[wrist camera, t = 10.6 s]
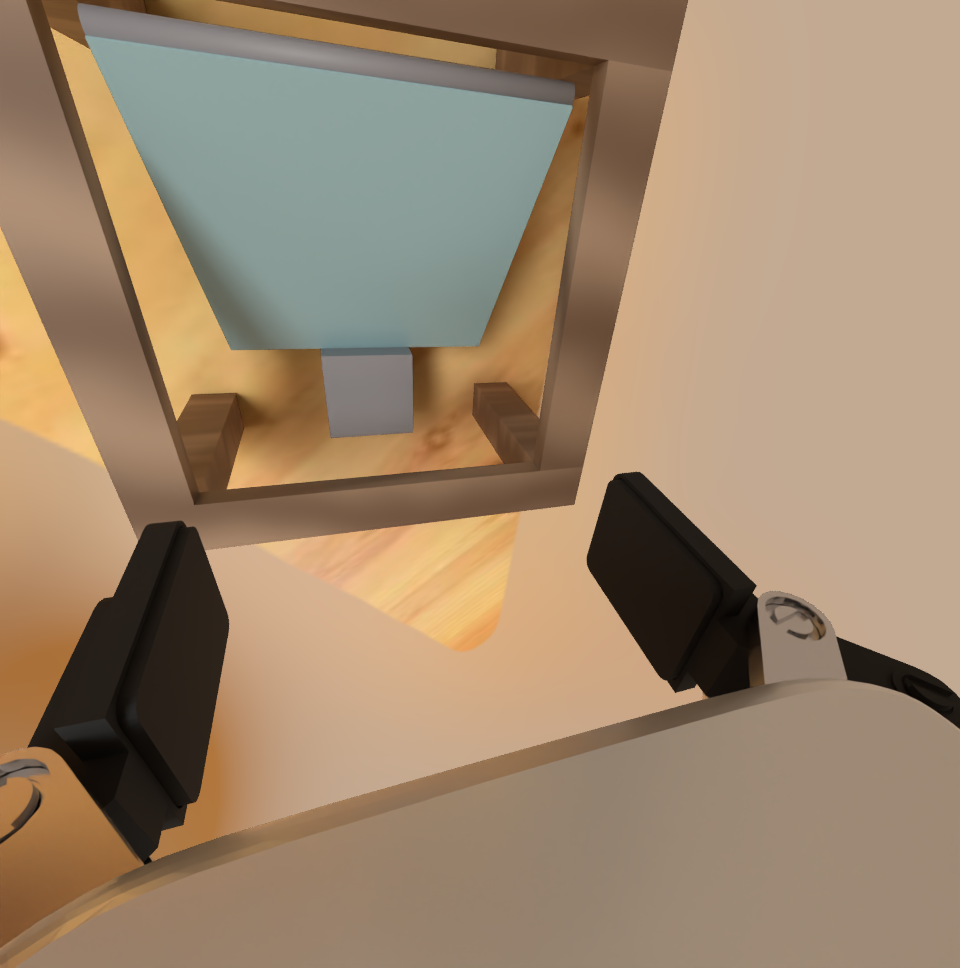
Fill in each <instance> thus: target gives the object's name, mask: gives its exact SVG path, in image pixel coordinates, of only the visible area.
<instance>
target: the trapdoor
mask: <svg viewBox="0 0 960 968" xmlns="http://www.w3.org/2000/svg"><path fill="white" fill-rule="evenodd" d="M77 9H78V15H79V19H80V22H81V25H82V28H83V31H84V33H85V39H86V41H87V43H88V45H89V47H90V49H91V51H92V54H93V56H94V58H95V60H96V62H97V64H98V66H99V69H100V71H101V73H102V75H103V77H104V79H105V81H106V83H107V86H108V88H109V90H110V92H111V94H112V96H113V98H114V101H115V103H116V105H117V107H118V109H119V111H120V113H121V116H122V118H123V120H124V122H125V124H126V126H127V128H128V130H129V133H130V135H131V137H132V139H133V141H134V143H135V145H136V148H137V150H138V152H139V154H140V156H141V158H142V160H143V163H144V165H145V167H146V169H147V171H148V173H149V175H150V177H151V180H152V182H153V184H154V186H155V188H156V190H157V192H158V195H159V197H160V199H161V201H162V203H163V205H164V207H165V210H166V212H167V214H168V216H169V218H170V220H171V222H172V225H173V227H174V229H175V231H176V233H177V235H178V237H179V239H180V242H181V244H182V246H183V248H184V250H185V252H186V254H187V257H188V259H189V261H190V263H191V265H192V267H193V269H194V272H195V274H196V276H197V278H198V280H199V282H200V284H201V286H202V289H203V291H204V293H205V295H206V297H207V299H208V301H209V304H210V306H211V308H212V310H213V312H214V314H215V316H216V319H217V321H218V323H219V325H220V327H221V329H222V331H223V334H224V336H225V338H226V340H227V342H228V344H229V346H230V348H231V350H270V349H326V348H390V347H457V346H479V344H480V341H481V339H482V336H483V334H484V331H485V328H486V326H487V323H488V321H489V318H490V316H491V313H492V311H493V308H494V306H495V303H496V301H497V298H498V296H499V293H500V291H501V288H502V285H503V283H504V280H505V278H506V275H507V273H508V270H509V268H510V265H511V263H512V260H513V258H514V255H515V253H516V250H517V248H518V245H519V243H520V240H521V237H522V235H523V232H524V230H525V227H526V225H527V222H528V220H529V217H530V215H531V212H532V210H533V207H534V205H535V202H536V200H537V197H538V194H539V192H540V189H541V187H542V184H543V182H544V179H545V177H546V174H547V172H548V169H549V167H550V164H551V162H552V159H553V157H554V154H555V151H556V149H557V146H558V144H559V141H560V139H561V136H562V134H563V131H564V129H565V126H566V124H567V121H568V119H569V116H570V114H571V111H572V109H573V107H572V105H573V101H574V97H575V85H574V83H573V82H570V81H564V80H557V79H551V78H545V77H539V76H532V75H526V74H520V73H514V72H507V71H501V70H495V69H489V68H482V67H476V66H470V65H464V64H457V63H451V62H445V61H439V60H432V59H426V58H420V57H414V56H408V55H401V54H395V53H389V52H383V51H376V50H370V49H364V48H358V47H351V46H345V45H339V44H333V43H326V42H320V41H314V40H308V39H301V38H295V37H289V36H283V35H276V34H270V33H264V32H258V31H251V30H245V29H239V28H233V27H226V26H220V25H214V24H208V23H201V22H195V21H189V20H183V19H176V18H170V17H164V16H158V15H151V14H145V13H139V12H133V11H126V10H120V9H114V8H108V7H102V6H95V5H89V4H83V3H78V5H77Z"/></svg>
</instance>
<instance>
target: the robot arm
mask: <svg viewBox="0 0 960 968" xmlns="http://www.w3.org/2000/svg"><path fill="white" fill-rule="evenodd" d="M587 565H588V568H589V570H590V572H591V574H592V575H593V576H594V578H595V579H596V581H597V583H598V584H599V586H600V587H601V589H602V590H603V592H604V593H605V595H606V596H607V598H608V599H609V601H610V602H611V604H612V605H613V607H614V608H615V610H616V611H617V613H618V614H619V616H620V618H621V619H622V621H623V622H624V624H625V625H626V627H627V628H628V630H629V631H630V633H631V634H632V636H633V637H634V639H635V640H636V642H637V643H638V645H639V646H640V648H641V649H642V651H643V652H644V654H645V656H646V657H647V659H648V660H649V662H650V663H651V665H652V666H653V668H654V669H655V671H656V672H657V674H658V675H659V676H660V677H661V678H662V679H663V680H667V681H668V683H669V684H670V686H671V687H672V689H673V690H674V691H675V693H676V692H680V691H684V690H687V689H691V688H695V686H696V684H698V686H699V687H700V689H701V690H702V691H703V700H701V701H697V702H693V703H689V704H686V705H682V706H678V707H675V708H671V709H668V710H664V711H660V712H656V713H653V714H649V715H645V716H642V717H639V718H635V719H631V720H627V721H624V722H620V723H616V724H613V725H609V726H605V727H602V728H598V729H595V730H591V731H587V732H584V733H580V734H576V735H573V736H569V737H566V738H562V739H558V740H555V741H551V742H548V743H544V744H541V745H537V746H533V747H530V748H526V749H523V750H519V751H516V752H512V753H509V754H505V755H501V756H498V757H494V758H491V759H487V760H484V761H480V762H476V763H473V764H469V765H465V766H462V767H458V768H455V769H452V770H448V771H444V772H441V773H437V774H434V775H430V776H427V777H423V778H420V779H416V780H413V781H409V782H406V783H402V784H399V785H396V786H392V787H388V788H385V789H381V790H377V791H374V792H370V793H367V794H363V795H360V796H356V797H353V798H350V799H346V800H342V801H339V802H335V803H332V804H328V805H325V806H321V807H318V808H315V809H311V810H308V811H305V812H302V813H298V814H295V815H292V816H289V817H285V818H282V819H278V820H275V821H272V822H269V823H265V824H262V825H258V826H255V827H252V828H249V829H245V830H242V831H239V832H235V833H232V834H229V835H226V836H222V837H219V838H216V839H214V840H211V841H208V842H205V843H202V844H199V845H196V846H194V847H191V848H188V849H185V850H182V851H179V852H176V853H173V854H171V855H168V856H165V857H162V858H161V859H158V860H156V861H154V860H153V858H152V857H151V856H150V855H151V854H152V853H153V852H154V851H155V850H156V849H157V848H158V844H159V839H160V835H161V831H163V830H166V829H170V828H174V827H177V826H181V825H183V824H184V819H185V813H186V809H187V804H190V803H194V802H196V801H197V799H198V796H199V793H200V789H201V784H202V778H203V773H204V767H205V761H206V755H207V750H208V745H209V739H210V733H211V728H212V722H213V717H214V711H215V705H216V699H217V694H218V688H219V683H220V677H221V672H222V666H223V661H224V655H225V649H226V643H227V638H228V632H229V619H228V614H227V611H226V608H225V606H224V603H223V600H222V597H221V595H220V591H219V589H218V586H217V583H216V580H215V578H214V575H213V572H212V569H211V566H210V564H209V561H208V558H207V555H206V552H205V550H204V547H203V544H202V541H201V538H200V536H199V533H198V531H197V529H196V527H194V526H192V527H187V526H186V524H185V523H184V522H183V521H181V520H180V521H170V522H161V523H152V524H148V525H146V526H145V528H144V530H143V532H142V534H141V536H140V539H139V541H138V544H137V545H136V548H135V550H134V552H133V554H132V556H131V559H130V561H129V563H128V566H127V567H126V570H125V572H124V574H123V576H122V579H121V581H120V583H119V585H118V587H117V590H116V592H115V594H114V596H113V597H110V598H104V599H103V600H101V601H100V602H99V603H98V604H97V606H96V607H95V609H94V610H93V613H92V615H91V617H90V619H89V621H88V623H87V625H86V627H85V629H84V631H83V634H82V635H81V637H80V639H79V642H78V644H77V646H76V648H75V650H74V652H73V654H72V656H71V658H70V661H69V663H68V665H67V666H66V669H65V671H64V673H63V675H62V677H61V679H60V681H59V683H58V685H57V687H56V689H55V692H54V693H53V696H52V698H51V700H50V702H49V704H48V706H47V708H46V710H45V712H44V715H43V717H42V718H41V721H40V723H39V725H38V727H37V729H36V731H35V733H34V735H33V737H32V739H31V741H30V744H29V745H28V747H27V748H23V749H17V750H14V751H11V752H8V753H6V754H3V755H1V756H0V968H960V698H959V697H958V696H957V694H956V693H955V692H953V691H952V690H951V689H950V688H949V687H948V686H947V685H945V684H944V683H943V682H942V681H940V680H939V679H937V678H935V677H933V676H932V675H930V674H928V673H926V672H924V671H922V670H920V669H918V668H916V667H913V666H910V665H908V664H906V663H903V662H900V661H898V660H895V659H892V658H890V657H888V656H885V655H882V654H880V653H877V652H875V651H872V650H870V649H867V648H864V647H862V646H859V645H856V644H854V643H852V642H849V641H846V640H844V639H841V638H839V637H836V635H835V631H834V629H833V627H832V624H831V623H830V621H829V620H828V619H827V617H826V616H825V615H824V614H823V613H822V612H821V611H820V610H818V609H817V608H816V607H815V606H814V605H812V604H810V603H809V602H807V601H805V600H804V599H801V598H799V597H797V596H794V595H792V594H788V593H784V592H780V591H770V592H766V593H763V594H762V595H761V596H760V597H759V598H757V597H756V596H755V595H754V594H753V591H754V589H755V587H756V584H755V583H754V582H753V581H751V580H750V579H749V578H748V577H747V576H746V575H745V574H744V573H743V572H742V571H741V570H740V569H739V568H738V567H737V566H736V565H735V564H734V563H733V562H732V561H731V560H730V559H729V558H728V557H727V556H726V555H725V554H724V553H723V552H722V551H721V550H720V549H719V548H718V547H717V546H716V545H715V544H714V543H712V541H710V539H709V538H707V536H706V535H704V534H703V533H702V532H701V531H700V530H699V529H698V528H697V527H696V526H695V525H694V524H693V523H692V522H691V521H690V520H689V519H688V518H687V517H686V516H685V515H684V514H683V513H682V512H681V511H680V510H679V509H678V508H677V507H676V506H675V505H674V504H673V503H672V502H671V501H670V500H669V499H668V498H667V497H666V496H665V495H664V494H663V493H662V492H661V491H660V490H659V489H657V487H655V486H654V485H653V484H652V483H651V482H650V481H649V480H648V479H647V478H646V477H645V476H644V475H643V474H642V473H640V472H631V473H622V474H617V475H616V476H615V477H614V479H613V480H612V481H610V482H609V483H608V486H607V489H606V493H605V496H604V500H603V503H602V507H601V510H600V513H599V517H598V520H597V524H596V527H595V531H594V534H593V537H592V541H591V544H590V548H589V551H588V555H587Z"/></svg>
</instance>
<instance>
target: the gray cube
mask: <svg viewBox="0 0 960 968" xmlns="http://www.w3.org/2000/svg"><path fill="white" fill-rule="evenodd" d="M321 361H322V369H323V378H324V386H325V394H326V403H327V411H328V419H329V428H330V436H331V438H339V437H354V436H369V435H384V434H398V433H413V368H412V353H411V351H410V349H409V347H390V348H326V349H321Z"/></svg>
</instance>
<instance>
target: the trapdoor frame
mask: <svg viewBox="0 0 960 968" xmlns="http://www.w3.org/2000/svg"><path fill="white" fill-rule="evenodd" d="M218 1H224V2H229V3H235V4H241V5H247V6H253V7H258V8H264V9H270V10H276V11H281V12H287V13H293V14H299V15H304V16H310V17H316V18H322V19H327V20H333V21H339V22H345V23H351V24H356V25H362V26H368V27H374V28H379V29H385V30H391V31H397V32H402V33H408V34H414V35H420V36H425V37H431V38H437V39H443V40H449V41H454V42H460V43H466V44H472V45H477V46H483V47H489V48H495V49H497V54H496V69H495V70H501V71H507V72H514V73H520V74H526V75H532V76H539V77H545V78H551V79H557V80H564V81H570V82H573V83H574V85H575V97H574V99H578V98H581V97H585V96H588V95H590V96H589V102H588V109H587V115H586V122H585V128H584V135H583V141H582V147H581V154H580V160H579V167H578V173H577V180H576V186H575V193H574V199H573V206H572V212H571V218H570V225H569V231H568V238H567V244H566V251H565V257H564V264H563V270H562V277H561V283H560V289H559V296H558V302H557V309H556V315H555V322H554V328H553V335H552V341H551V348H550V354H549V360H548V367H547V373H546V380H545V386H544V393H543V399H542V406H541V412H540V419H539V418H538V417H537V416H536V415H535V414H534V412H533V411H532V410H531V409H530V408H529V407H528V406H527V405H526V404H525V403H524V401H523V400H522V399H521V398H520V397H519V396H518V395H517V394H516V393H515V391H514V390H513V389H512V388H511V387H510V386H509V385H508V384H507V383H506V382H503V383H478V384H474V398H473V413H472V415H473V416H474V418H475V419H476V421H477V423H478V424H479V426H480V427H481V429H482V430H483V432H484V433H485V435H486V437H487V438H488V440H489V441H490V443H491V444H492V446H493V447H494V449H495V451H496V452H497V454H498V455H499V457H500V458H501V460H502V461H503V463H504V464H500V465H490V466H479V467H468V468H457V469H446V470H435V471H424V472H413V473H403V474H392V475H381V476H370V477H359V478H348V479H337V480H326V481H315V482H305V483H294V484H283V485H272V486H261V487H250V488H239V489H228V490H226V489H227V486H228V482H229V479H230V475H231V472H232V468H233V465H234V461H235V458H236V454H237V451H238V447H239V444H240V440H241V437H242V433H243V430H244V426H243V422H242V418H241V413H240V409H239V405H238V400H237V396H236V393H225V394H200V395H191V397H190V399H189V401H188V403H187V404H186V406H185V408H184V410H183V411H182V413H181V415H180V417H179V418H178V420H177V421H176V418H175V415H174V412H173V409H172V406H171V403H170V400H169V396H168V393H167V390H166V387H165V384H164V381H163V378H162V375H161V372H160V368H159V365H158V362H157V359H156V356H155V353H154V350H153V347H152V343H151V340H150V337H149V334H148V331H147V328H146V325H145V322H144V319H143V315H142V312H141V309H140V306H139V303H138V300H137V297H136V294H135V290H134V287H133V284H132V281H131V278H130V275H129V272H128V269H127V266H126V262H125V259H124V256H123V253H122V250H121V247H120V244H119V241H118V237H117V234H116V231H115V228H114V225H113V222H112V219H111V216H110V213H109V209H108V206H107V203H106V200H105V197H104V194H103V191H102V188H101V184H100V181H99V178H98V175H97V172H96V169H95V166H94V163H93V160H92V156H91V153H90V150H89V147H88V144H87V141H86V138H85V135H84V131H83V128H82V125H81V122H80V119H79V116H78V113H77V110H76V107H75V103H74V100H73V97H72V94H71V91H70V88H69V85H68V82H67V78H66V75H65V72H64V69H63V66H62V63H61V60H60V57H59V54H58V50H57V47H56V44H55V41H54V38H53V35H52V32H51V29H50V27H51V28H53V29H55V30H56V31H58V32H60V33H62V34H64V35H66V36H67V37H69V38H71V39H73V40H75V41H76V42H78V43H80V44H82V45H84V46H86V47H87V48H89V49H90V47H89V45H88V43H87V41H86V39H85V33H84V31H83V28H82V25H81V22H80V19H79V15H78V9H77V5H78V3H83V4H89V5H95V6H102V7H108V8H114V9H120V10H126V11H133V12H139V13H145V14H147V12H146V8H145V4H144V0H0V227H1V229H2V232H3V234H4V236H5V239H6V241H7V243H8V245H9V248H10V250H11V252H12V254H13V257H14V259H15V261H16V264H17V266H18V268H19V270H20V273H21V275H22V277H23V279H24V282H25V284H26V286H27V289H28V291H29V293H30V295H31V298H32V300H33V302H34V304H35V307H36V309H37V311H38V314H39V316H40V318H41V320H42V323H43V325H44V327H45V330H46V332H47V334H48V336H49V339H50V341H51V343H52V345H53V348H54V350H55V352H56V355H57V357H58V359H59V361H60V364H61V366H62V368H63V370H64V373H65V375H66V377H67V380H68V382H69V384H70V386H71V389H72V391H73V393H74V395H75V398H76V400H77V402H78V405H79V407H80V409H81V411H82V414H83V416H84V418H85V420H86V423H87V425H88V427H89V430H90V432H91V434H92V436H93V439H94V441H95V443H96V446H97V448H98V450H99V452H100V455H101V457H102V459H103V461H104V464H105V466H106V468H107V471H108V473H109V475H110V477H111V479H112V482H113V484H114V486H115V489H116V491H117V493H118V496H119V498H120V500H121V502H122V505H123V507H124V509H125V511H126V514H127V516H128V518H129V521H130V523H131V525H132V527H133V530H134V532H135V534H136V536H137V539H138V541H139V539H140V536H141V534H142V532H143V530H144V528H145V526H146V525H148V524H152V523H161V522H170V521H180V520H181V521H183V522H184V523H185V524H186V526H187V527H192V526H194V527H196V529H197V531H198V533H199V536H200V538H201V541H202V544H203V547H204V550H210V549H218V548H226V547H235V546H242V545H251V544H259V543H267V542H275V541H283V540H292V539H300V538H308V537H316V536H324V535H332V534H340V533H348V532H356V531H364V530H373V529H381V528H389V527H397V526H405V525H413V524H421V523H429V522H437V521H445V520H454V519H462V518H470V517H478V516H486V515H494V514H502V513H510V512H518V511H526V510H534V509H543V508H551V507H558V506H567V505H574V504H575V499H576V494H577V490H578V486H579V482H580V477H581V473H582V468H583V464H584V459H585V455H586V450H587V446H588V441H589V437H590V433H591V428H592V424H593V419H594V415H595V410H596V406H597V402H598V397H599V393H600V388H601V384H602V380H603V375H604V371H605V366H606V362H607V358H608V353H609V349H610V344H611V340H612V335H613V331H614V326H615V322H616V317H617V313H618V309H619V304H620V300H621V296H622V291H623V287H624V282H625V278H626V273H627V269H628V265H629V259H630V256H631V251H632V247H633V242H634V238H635V234H636V229H637V225H638V220H639V216H640V211H641V207H642V202H643V198H644V194H645V189H646V185H647V180H648V176H649V171H650V167H651V162H652V158H653V154H654V149H655V145H656V140H657V136H658V132H659V127H660V123H661V118H662V114H663V110H664V105H665V101H666V96H667V92H668V87H669V83H670V79H671V74H672V70H673V65H674V61H675V56H676V52H677V48H678V43H679V38H680V34H681V30H682V25H683V21H684V17H685V12H686V8H687V3H688V0H218Z"/></svg>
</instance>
